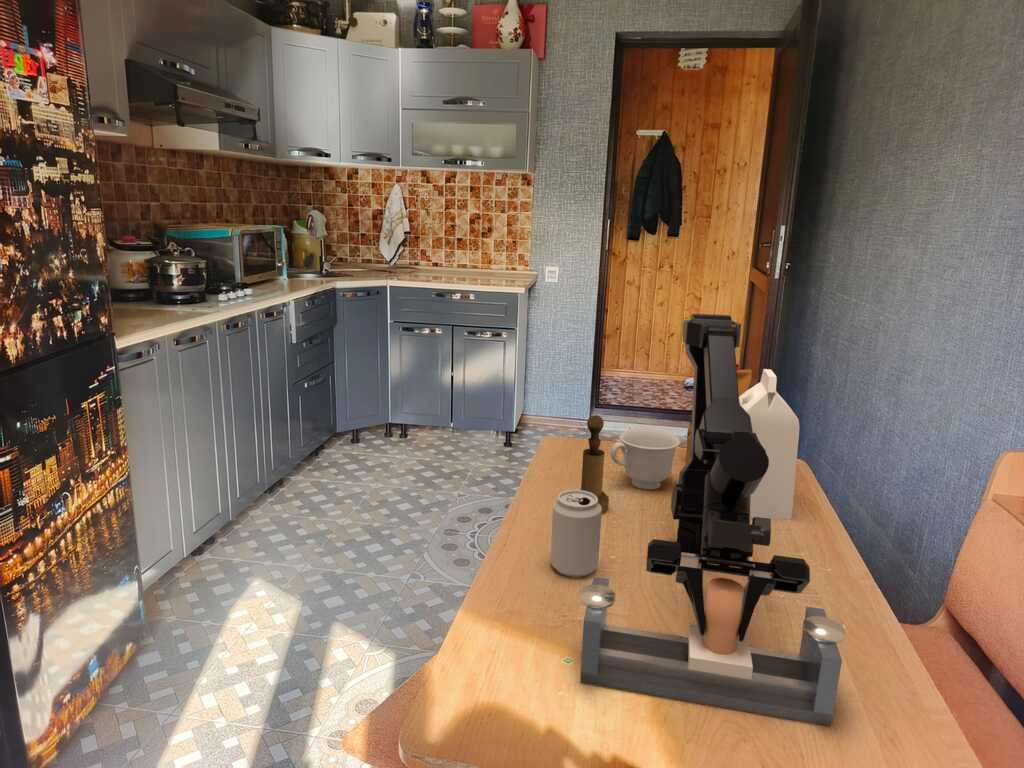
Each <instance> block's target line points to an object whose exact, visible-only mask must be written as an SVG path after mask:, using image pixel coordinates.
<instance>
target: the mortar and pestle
mask: <svg viewBox="0 0 1024 768" xmlns="http://www.w3.org/2000/svg"><path fill="white" fill-rule="evenodd" d="M604 425H605V423H604V419H603V417H601V415H597V414H596V415H595V414H593V415H591V416H590V417H588V418H587V420H586V426H587V428H588V430H589V432H590V437H589V438H588V446H589V448H585V449H583V452H582V466H581V467H582V468H581V485H580V488H579V490H583V491H587V492H590V493H592V494H594V495H596V497H597V498H598V503H599V504H600V506H601V508H602V514H605V513H607V512H608V511H609V504H610V503H609V501H610V500H609V499H610V498H609V496H608V495H607V494H606V493H605V492H604V491H603V482H604V481H603V479H604V465H605V451H604V450H602V449H600V446H601V443H602V442H601V441H602V439H600V433H601V431H602V429H603V428H604ZM602 514H601V515H602Z"/></svg>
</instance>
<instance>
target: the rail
mask: <svg viewBox="0 0 1024 768" xmlns="http://www.w3.org/2000/svg"><path fill="white" fill-rule="evenodd" d="M609 582H610V578H605V577H599V576H593V577H592V583H591V584H588V585H585V586H583V587H581V588H580V589H579V593H578V599H579V601H580V602H581V603H582V604H583V605H584V606H586V608H585V612H584V617H583V624H582V625H583V627H582V642H581V643H582V644H581V657H580V658H581V659H580V660H581V662H580V678H579V680H580V681H579V683H580V684H584V685H585V684H586V685H591V686H597V687H603V688H608V689H615V690H620V691H626V692H630V693H631V692H632V693H637V694H643V695H649V696H655V697H660V698H665V699H671V700H676V701H678V700H679V701H683V702H688V703H694V704H701V705H708V706H712V707H719V708H724V709H730V710H735V711H740V712H741V711H742V712H747V713H753V714H758V715H763V716H769V717H776V718H780V719H787V720H793V721H799V722H804V723H809V724H816V725H821V726H827V727H831V726H832V722H833V717H834V716H833V715H834V709H835V704H836V698H837V692H838V687H839V682H840V675H841V669H842V663H843V659H842V656H841V653H840V651H839V648H838V645H837V644H840V643H842V642H843V641H844V640H845V634H846V631H845V628H844V627H843V626H842V625H841V624H840V623H839V622H837V621H835V620H833V619H831V618H828V616H827V613H826V610H825V608H818V607H817V608H816V607H810V606H806V607H805V613H804V614H805V615H804V619H803V624H802V633H801V640H800V646H799V654H797V653H791V652H784V651H779V650H772V649H766V648H760V647H752V646H750V652H751V659H752V665H753V670H752V678H751V679H745V678H739V677H733V676H727V675H721V674H715V673H709V672H703V671H696V670H690V669H688V636H681V635H675V634H668V633H663V632H662V633H661V632H656V631H649V630H643V629H637V628H629V627H622V626H617V625H611V624H607V615H608V614H607V613H608V608H610V607H612V606H613V605H614V604H615V602H616V593H615V592H614V590H613V589H612V588H610V587H609V585H610V583H609Z"/></svg>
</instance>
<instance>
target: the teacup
mask: <svg viewBox="0 0 1024 768" xmlns="http://www.w3.org/2000/svg"><path fill="white" fill-rule="evenodd" d="M618 436H619V440H620V441H621V442H620V441H619V442H615V443H614V444H613V445H612V446H611V448H610V451H609V453H610V458H611V461H612V462H614V463H615V464H616V465H619V466H623V467H624V470H625V473H626V475H627V476H628V477H629V478H631V479H632V480H631V484H632V485H633V486H634V487H636V488H637V489H638V488H639V489H643V490H656V489H659V488H660V487H661V482H663V481H664V480H666V479H667V478H668V477H669V475H670V474H671V471H672V467H673V462H674V457H675V453H676V450H677V447H678V446H679V445H680V444H681V439H680V438H679V437H678V436H677V435H675V434H673V433H671V432H669V431H665V430H661V429H654V428H642V427H641V428H632V429H627V430H623V432H621V433H619V435H618ZM619 449H620V451H621V453H622V454H623V460H620V459H618V458H617V451H618V450H619Z"/></svg>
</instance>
